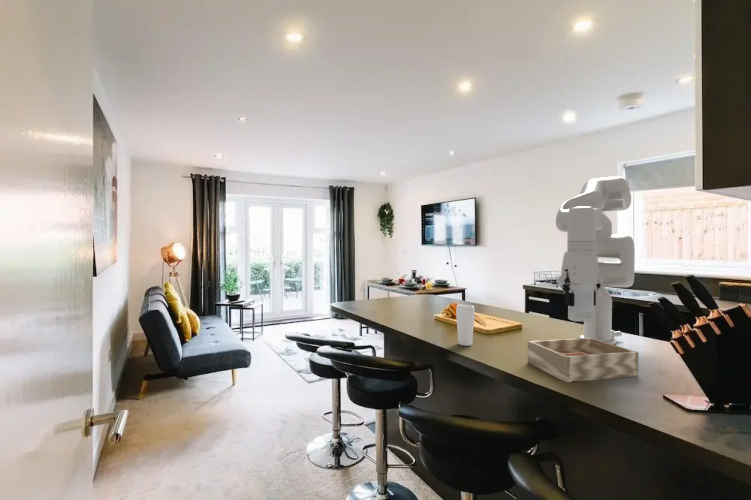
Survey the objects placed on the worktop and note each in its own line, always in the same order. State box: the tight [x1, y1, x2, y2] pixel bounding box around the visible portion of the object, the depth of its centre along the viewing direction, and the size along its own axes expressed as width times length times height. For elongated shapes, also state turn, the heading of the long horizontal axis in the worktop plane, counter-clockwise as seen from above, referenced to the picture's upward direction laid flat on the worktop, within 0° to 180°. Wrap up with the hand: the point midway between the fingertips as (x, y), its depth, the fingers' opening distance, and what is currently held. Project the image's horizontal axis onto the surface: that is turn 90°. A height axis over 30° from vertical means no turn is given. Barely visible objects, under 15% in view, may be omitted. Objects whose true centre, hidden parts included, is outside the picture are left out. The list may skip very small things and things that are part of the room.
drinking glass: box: [455, 303, 475, 347], centre depth 145 cm, size 7×7×15 cm
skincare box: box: [567, 282, 594, 322], centre depth 116 cm, size 6×4×12 cm
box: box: [527, 337, 639, 383], centre depth 117 cm, size 24×18×7 cm
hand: (580, 304), depth 116 cm, fingers closed on skincare box, 6 cm apart
